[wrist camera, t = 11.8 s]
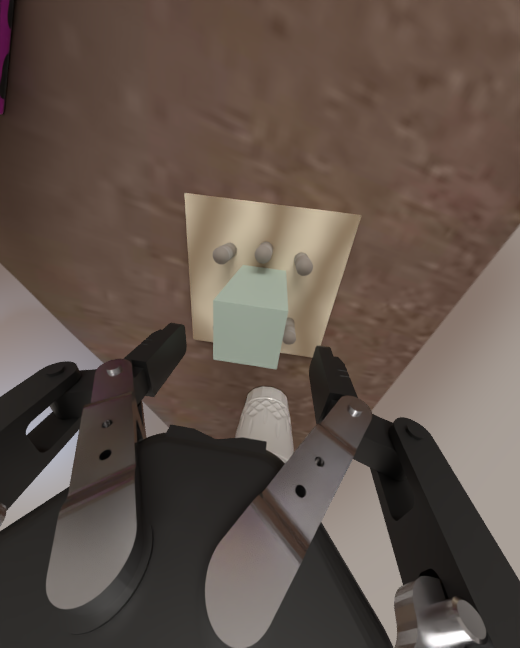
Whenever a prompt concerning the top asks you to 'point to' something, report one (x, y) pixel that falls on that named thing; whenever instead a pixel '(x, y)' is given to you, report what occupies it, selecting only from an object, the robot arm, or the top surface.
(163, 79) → the top surface
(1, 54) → the candy bar box
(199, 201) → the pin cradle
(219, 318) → the sage peg block
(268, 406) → the white cup
